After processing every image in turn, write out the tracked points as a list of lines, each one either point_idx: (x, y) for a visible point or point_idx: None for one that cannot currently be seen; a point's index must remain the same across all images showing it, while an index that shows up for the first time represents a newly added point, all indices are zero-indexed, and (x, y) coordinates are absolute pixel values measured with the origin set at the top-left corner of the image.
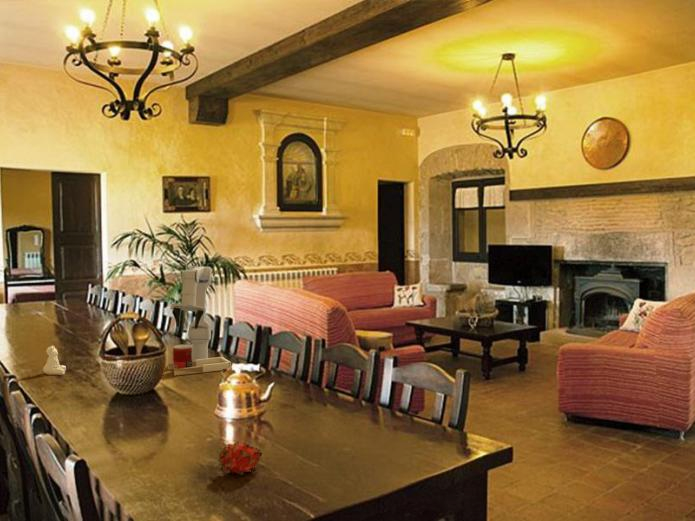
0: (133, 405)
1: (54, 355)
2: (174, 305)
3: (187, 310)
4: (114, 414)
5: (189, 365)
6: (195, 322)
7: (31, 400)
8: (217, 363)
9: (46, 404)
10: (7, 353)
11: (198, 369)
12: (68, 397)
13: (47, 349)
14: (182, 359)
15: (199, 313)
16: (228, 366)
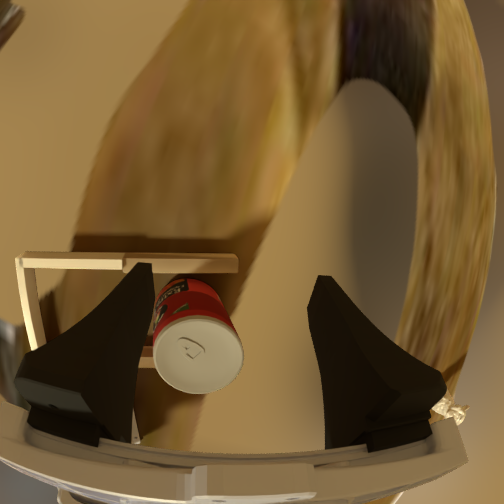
0: (395, 24)
1: (451, 406)
2: (441, 452)
3: (245, 457)
4: (422, 9)
5: (170, 289)
6: (139, 344)
7: (496, 201)
8: (62, 264)
9: (489, 157)
10: (398, 497)
11: (141, 255)
12: (470, 180)
13: (469, 406)
14: (203, 296)
15: (79, 357)
16: (30, 254)
